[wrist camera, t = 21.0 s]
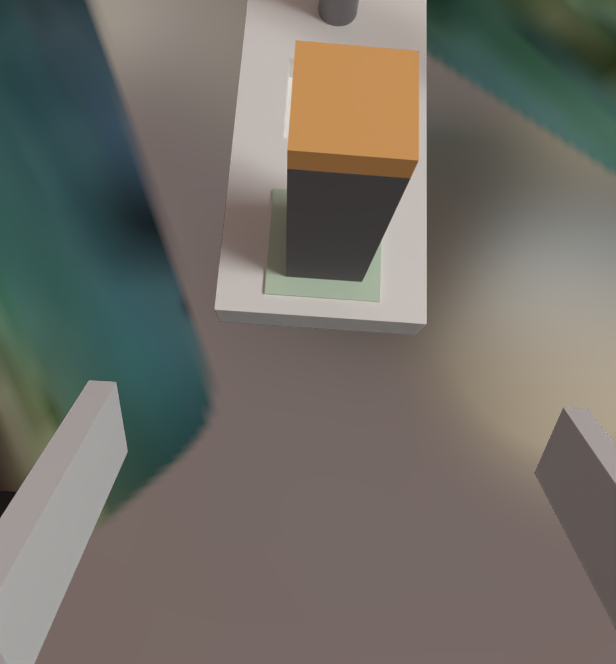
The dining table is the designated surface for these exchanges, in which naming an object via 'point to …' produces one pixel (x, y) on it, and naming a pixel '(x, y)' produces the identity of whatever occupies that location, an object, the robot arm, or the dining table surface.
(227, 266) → the base plate with post
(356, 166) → the orange and black block
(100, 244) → the dining table surface
